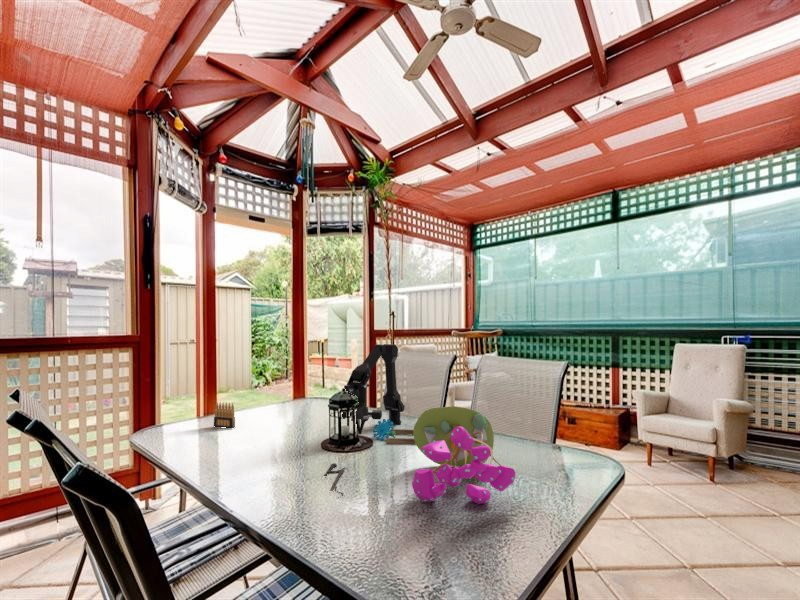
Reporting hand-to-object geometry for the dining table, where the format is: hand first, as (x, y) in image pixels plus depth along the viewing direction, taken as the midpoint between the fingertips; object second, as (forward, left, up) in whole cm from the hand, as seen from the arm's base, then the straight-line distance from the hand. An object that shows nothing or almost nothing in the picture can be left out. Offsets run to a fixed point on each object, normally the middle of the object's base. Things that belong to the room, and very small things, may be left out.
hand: (360, 434), depth 163 cm
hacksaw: (+44, -1, -2) cm, 44 cm away
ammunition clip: (-12, -68, -2) cm, 69 cm away
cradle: (0, +21, -2) cm, 21 cm away
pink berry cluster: (+48, +38, -2) cm, 61 cm away
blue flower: (0, +11, -2) cm, 11 cm away
